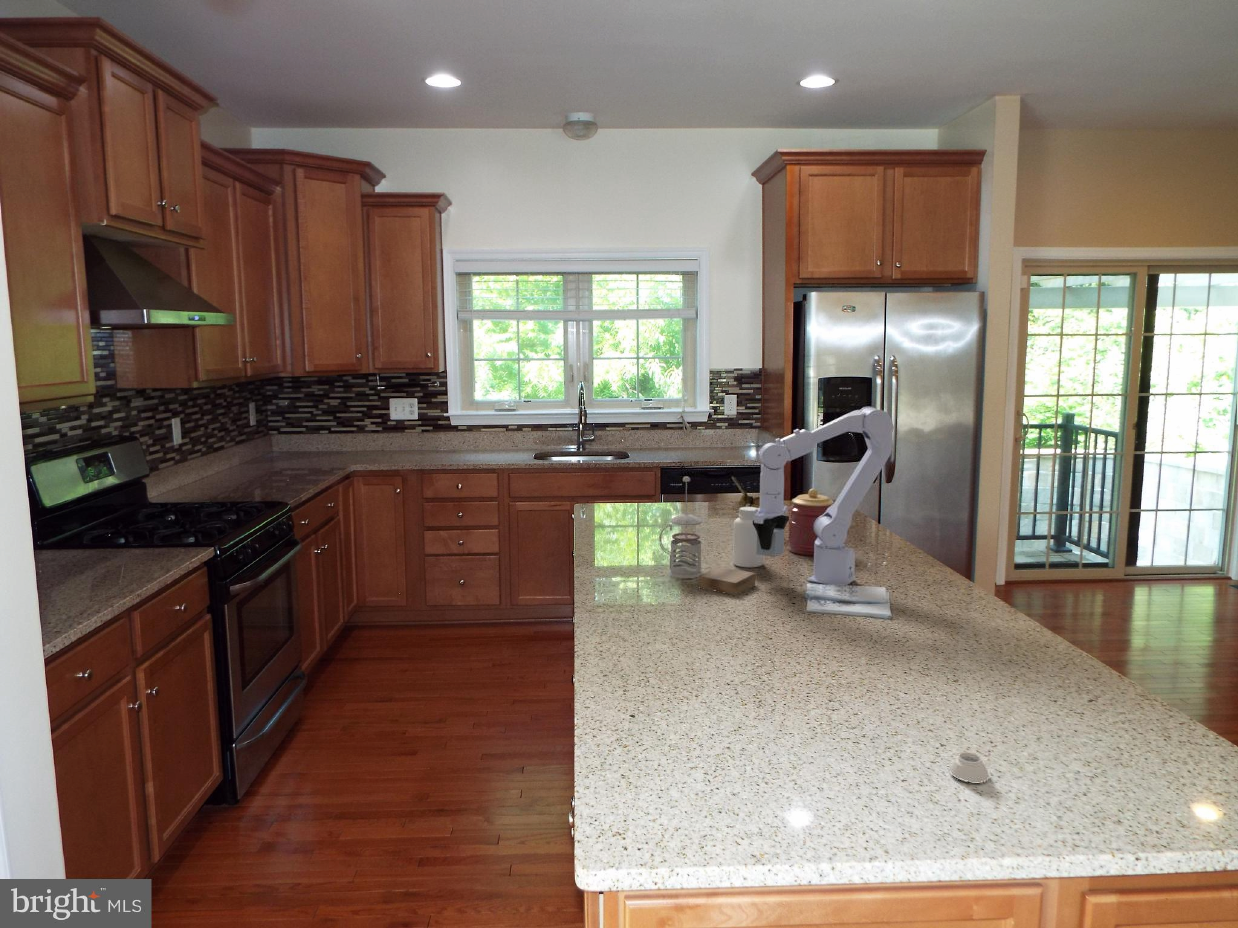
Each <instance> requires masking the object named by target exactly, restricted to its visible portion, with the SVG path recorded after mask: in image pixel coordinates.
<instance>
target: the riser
mask: <svg viewBox="0 0 1238 928" xmlns="http://www.w3.org/2000/svg"><path fill="white" fill-rule="evenodd" d="M751 586H752V587H754V586H756V573H755V572H750V571H747V570H746V571H745V570H741V569H740V570H739V569H734V568H728V567H723V566H722V567H721V566H717V567H715V568H713V569H710V570H709V571H707V572H704V574H702V575H700V576H699V578H698V587H700V588H704V589H703V590H706V589H710V590H709V591H711V590H716V591H719V592H718V593H721V592H725V593H724V594H726V593H729V594H728V595H731V594H734V595H733V596H737V595H739V594H741V593H742V591H743V592H744V590H745V591H747V590H748V588H749V587H750V588H752V587H751ZM700 588H699V589H700ZM750 588H749V589H750ZM746 589H747V590H746ZM716 591H715V592H716ZM740 592H741V593H740ZM738 593H739V594H738ZM736 594H737V595H736Z"/></svg>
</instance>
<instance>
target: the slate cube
mask: <svg viewBox="0 0 1238 928" xmlns="http://www.w3.org/2000/svg"><path fill="white" fill-rule="evenodd" d="M784 553H785V528H784V529H780V528H775V529H774V531H773V535H772V542H771V547H770V550H764V549H761V546H760V542H759V537H758V534H757V550H756V554H758V555H763V556H764V557H765V556H766V557H772V558H777V557H778V556H780V555H782V554H784Z"/></svg>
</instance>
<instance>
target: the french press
mask: <svg viewBox="0 0 1238 928" xmlns="http://www.w3.org/2000/svg"><path fill="white" fill-rule="evenodd" d="M682 482H685V513H682V514H678V515H676V516H674V517H672V518H671V519H670V523H671V524H668V525H666V526H665V527H663V528H662V529H661V532H660V534H659V536H658V538H659V539H658V540H659V546H660V548H661V550H662V551H664V553H665V554H668V555H669V569H668V570H667V571H666V575H668V576H669V575H670V576H669V577H672V578H675V577H676V578H675V579H682V578H692V579H696V578H695V577H699V576H700V575H702V574H704V573H705V572H704V570H703V569H702V541H701V540H699V539H700V538H701V536H700V534H697V533H694V532H677V533H673V534H672V535H671V537H672V540H671V542H670V550H668V549H667V548H665V547H664V545H663V542H662V535H663V532H664V530H666V529H667V528H669V530H670V532H672V530H673V525H678V526H685V528H687V526H698V525H700V524H702V522H703V520H702V518H699V516H696V515H693V514H689V513H687V512H688V511H687V507H688V504H687V501H688V497H687V495H688V492H687V491H688V490H687V489H688V482H691V478H690V477H689V476H683V478H682ZM672 524H673V525H672ZM682 543H686V544H682ZM687 544H689V545H687ZM677 550H678V551H677ZM687 558H688V559H687ZM689 559H690V560H689ZM678 577H679V578H678Z"/></svg>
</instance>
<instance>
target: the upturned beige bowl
mask: <svg viewBox="0 0 1238 928" xmlns="http://www.w3.org/2000/svg"><path fill="white" fill-rule="evenodd" d="M949 768H950V771H951V772H952V774H953V775H955V776H956V777H958V778H962V779H964V780H968V781H971V782H981V781H984V780H987V778H988V777H989V778H990V775H989V772H988V769H987V768H986V765H985V763H984V762H983V758H982V757H981V755H978V753H977V754H976V753H974V752H969V751H963V752H960V753H958V755H957V757H956V758H955V759H953V762H952V763H951V765H950V766H949ZM950 771H949V772H950ZM987 781H988V780H987Z"/></svg>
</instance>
